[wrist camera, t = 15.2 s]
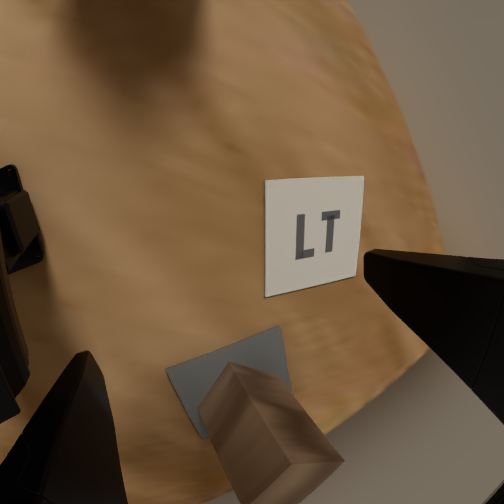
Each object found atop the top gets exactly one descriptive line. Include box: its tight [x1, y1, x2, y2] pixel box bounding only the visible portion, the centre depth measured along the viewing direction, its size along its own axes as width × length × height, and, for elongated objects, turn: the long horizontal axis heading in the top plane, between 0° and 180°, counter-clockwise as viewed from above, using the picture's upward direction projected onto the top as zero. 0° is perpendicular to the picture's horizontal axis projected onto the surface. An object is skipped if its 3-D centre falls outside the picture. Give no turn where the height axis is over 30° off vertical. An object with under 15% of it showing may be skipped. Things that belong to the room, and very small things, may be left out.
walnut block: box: [198, 362, 345, 504], centre depth 23 cm, size 6×6×11 cm
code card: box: [264, 176, 364, 297], centre depth 25 cm, size 9×9×1 cm
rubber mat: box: [166, 326, 291, 440], centre depth 28 cm, size 10×10×1 cm
